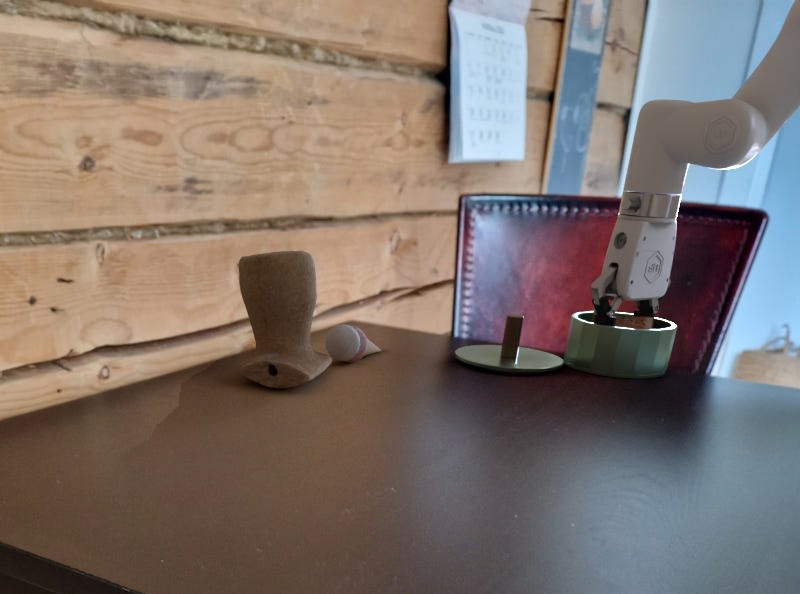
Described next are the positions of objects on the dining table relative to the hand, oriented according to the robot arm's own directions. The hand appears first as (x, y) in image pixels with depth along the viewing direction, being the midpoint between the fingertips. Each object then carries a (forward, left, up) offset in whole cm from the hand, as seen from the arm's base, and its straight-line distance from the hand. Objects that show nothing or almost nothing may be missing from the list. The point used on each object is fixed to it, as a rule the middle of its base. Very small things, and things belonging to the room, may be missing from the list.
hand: (619, 342), depth 124 cm
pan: (0, 0, -3) cm, 3 cm away
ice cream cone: (+33, -20, -4) cm, 39 cm away
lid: (+14, -8, -3) cm, 16 cm away
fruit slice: (0, 0, -1) cm, 1 cm away
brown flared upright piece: (+49, -15, -4) cm, 51 cm away
